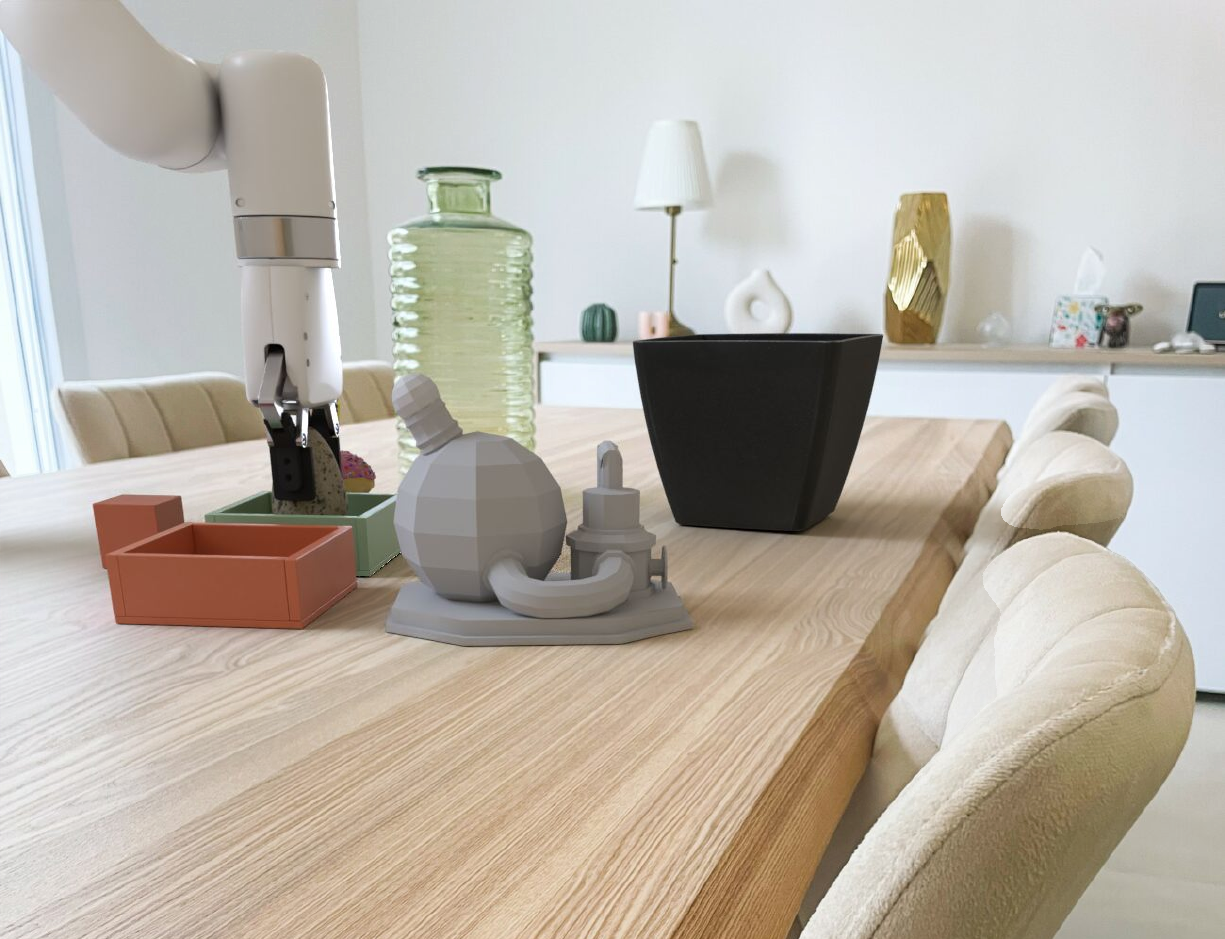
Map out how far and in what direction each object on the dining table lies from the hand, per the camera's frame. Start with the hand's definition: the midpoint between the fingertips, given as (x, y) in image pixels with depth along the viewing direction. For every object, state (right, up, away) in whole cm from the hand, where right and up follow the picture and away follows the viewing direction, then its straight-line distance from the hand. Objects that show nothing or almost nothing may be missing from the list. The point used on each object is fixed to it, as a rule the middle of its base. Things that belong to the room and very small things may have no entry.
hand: (309, 491), depth 98 cm
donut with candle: (-2, 0, +15) cm, 15 cm away
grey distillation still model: (+19, -13, -15) cm, 28 cm away
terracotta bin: (-1, -11, -13) cm, 17 cm away
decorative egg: (0, -5, +2) cm, 5 cm away
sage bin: (0, -5, +2) cm, 5 cm away
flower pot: (+38, +3, +21) cm, 44 cm away
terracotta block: (-13, -6, 0) cm, 14 cm away
